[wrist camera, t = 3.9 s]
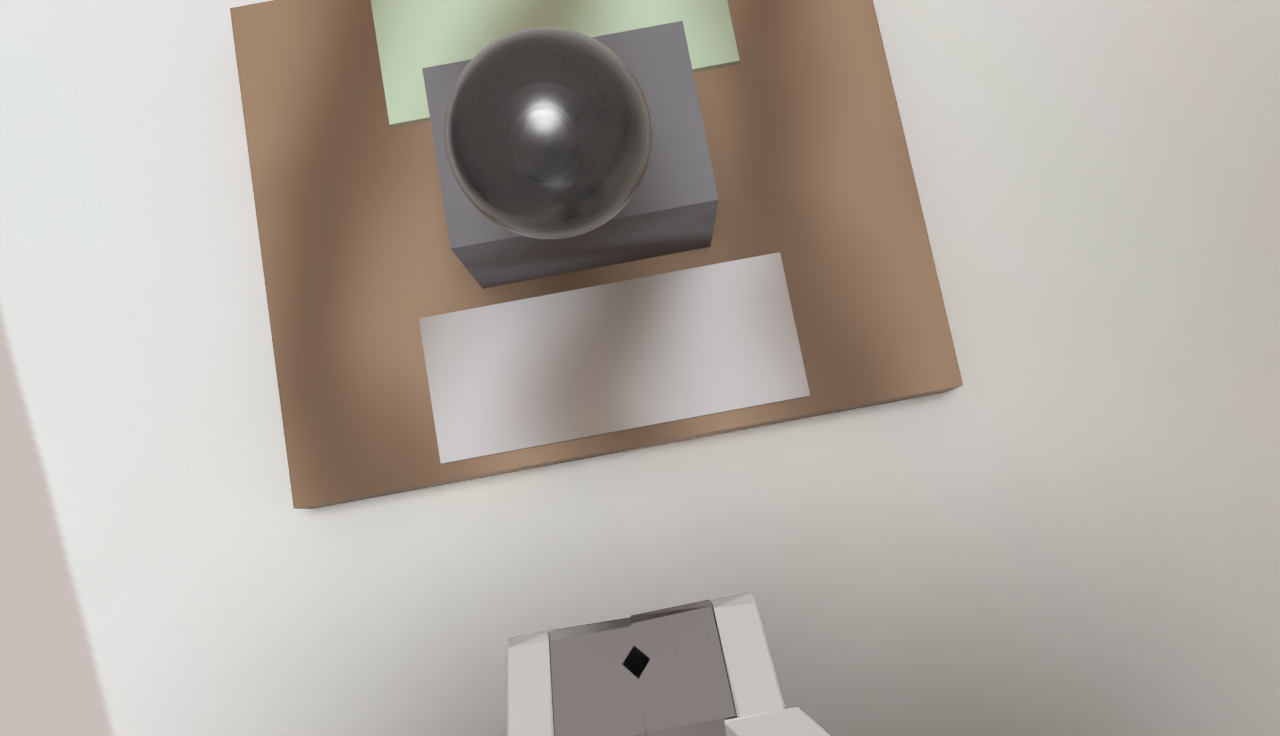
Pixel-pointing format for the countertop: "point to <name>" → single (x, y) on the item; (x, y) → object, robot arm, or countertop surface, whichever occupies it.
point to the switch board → (405, 266)
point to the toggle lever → (548, 133)
